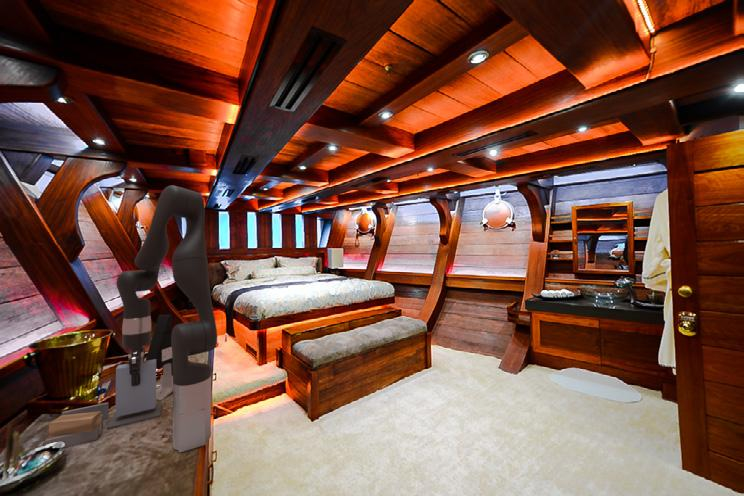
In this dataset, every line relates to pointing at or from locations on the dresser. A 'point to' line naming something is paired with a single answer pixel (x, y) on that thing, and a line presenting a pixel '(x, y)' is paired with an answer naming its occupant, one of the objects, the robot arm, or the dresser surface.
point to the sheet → (135, 389)
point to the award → (162, 354)
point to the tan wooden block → (82, 436)
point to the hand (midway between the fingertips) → (136, 382)
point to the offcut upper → (75, 423)
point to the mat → (134, 417)
